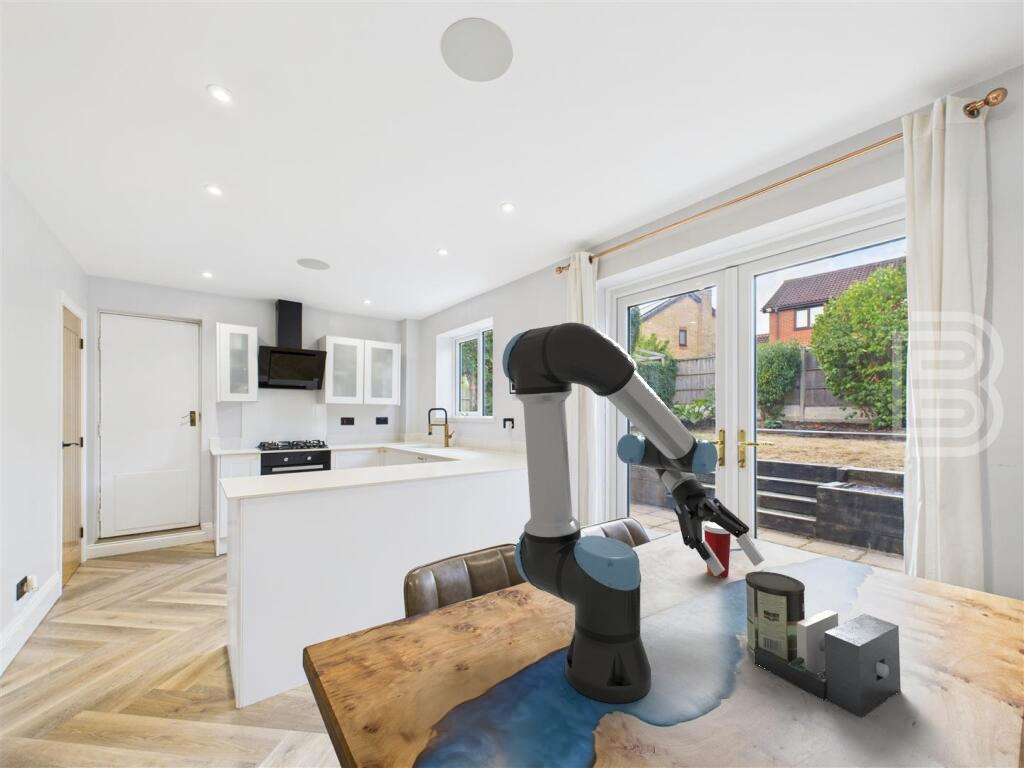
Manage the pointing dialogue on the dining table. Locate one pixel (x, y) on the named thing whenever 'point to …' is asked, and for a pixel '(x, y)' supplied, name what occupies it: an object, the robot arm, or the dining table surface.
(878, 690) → the frame
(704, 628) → the dining table surface
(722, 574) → the paper cup
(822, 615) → the pressure pad
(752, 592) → the coffee can
